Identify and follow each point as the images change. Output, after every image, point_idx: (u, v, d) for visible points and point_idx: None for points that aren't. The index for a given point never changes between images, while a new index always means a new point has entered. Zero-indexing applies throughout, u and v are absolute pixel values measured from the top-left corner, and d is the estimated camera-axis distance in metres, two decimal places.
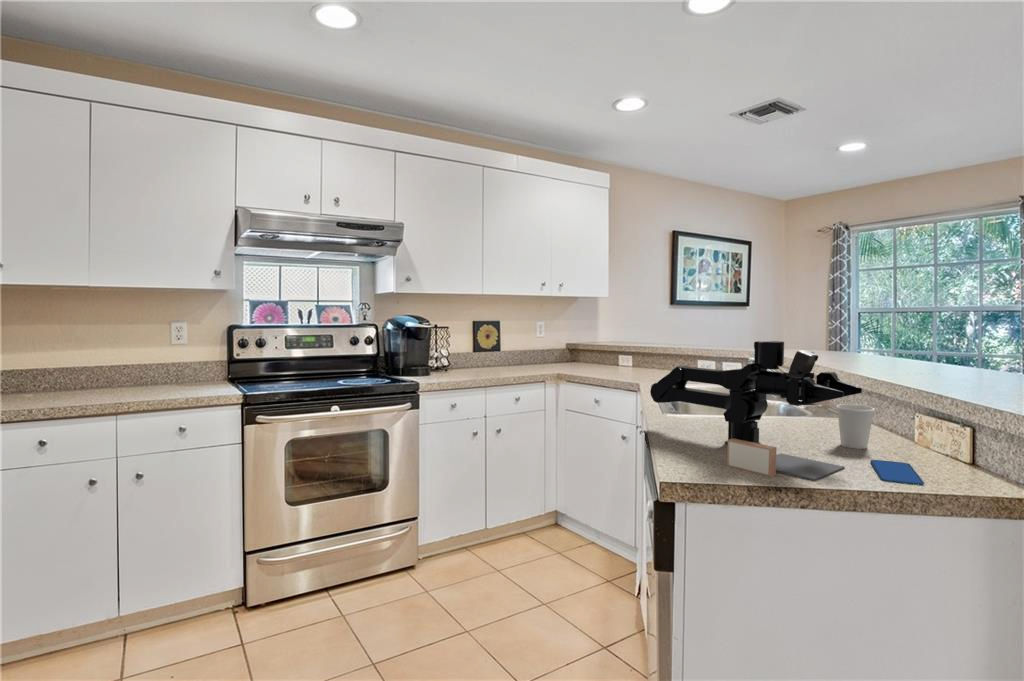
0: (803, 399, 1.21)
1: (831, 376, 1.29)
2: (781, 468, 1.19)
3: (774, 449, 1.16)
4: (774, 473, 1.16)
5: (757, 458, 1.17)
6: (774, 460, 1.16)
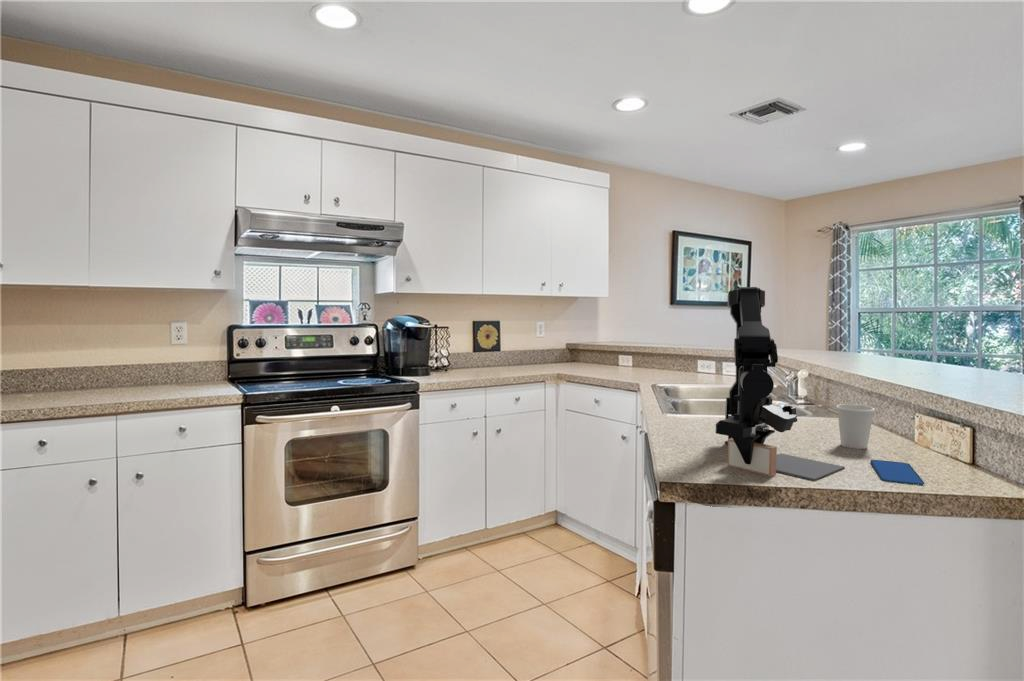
0: None
1: (766, 433, 1.18)
2: (781, 468, 1.19)
3: (774, 449, 1.16)
4: (774, 473, 1.16)
5: (757, 457, 1.17)
6: (774, 460, 1.16)
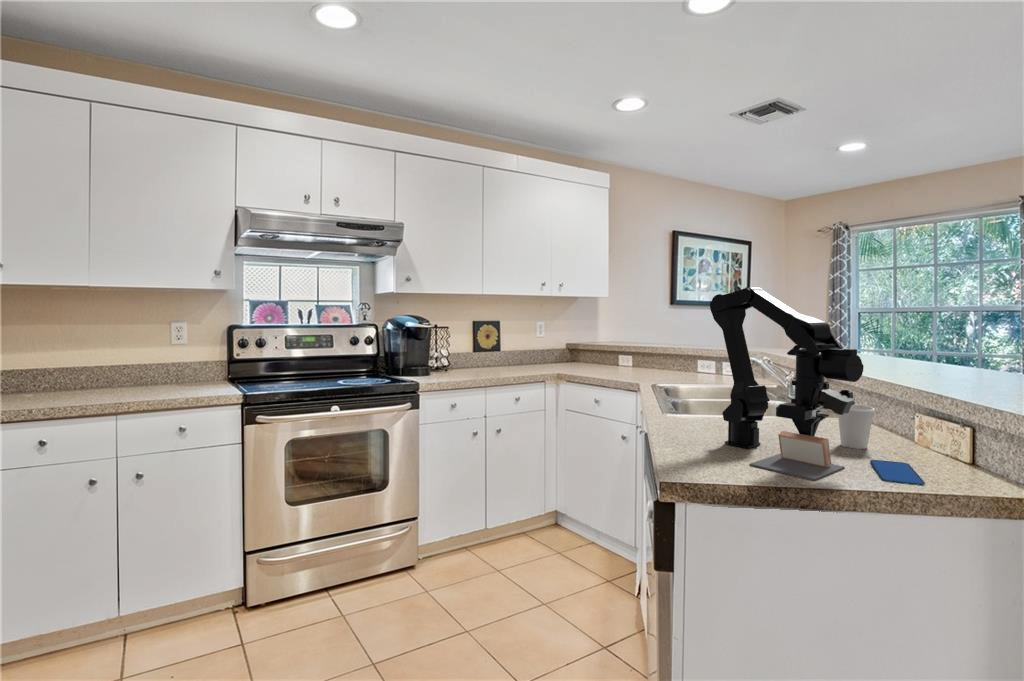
0: None
1: (821, 417, 1.23)
2: (781, 468, 1.19)
3: (826, 442, 1.19)
4: (829, 462, 1.20)
5: (811, 451, 1.21)
6: (828, 451, 1.20)
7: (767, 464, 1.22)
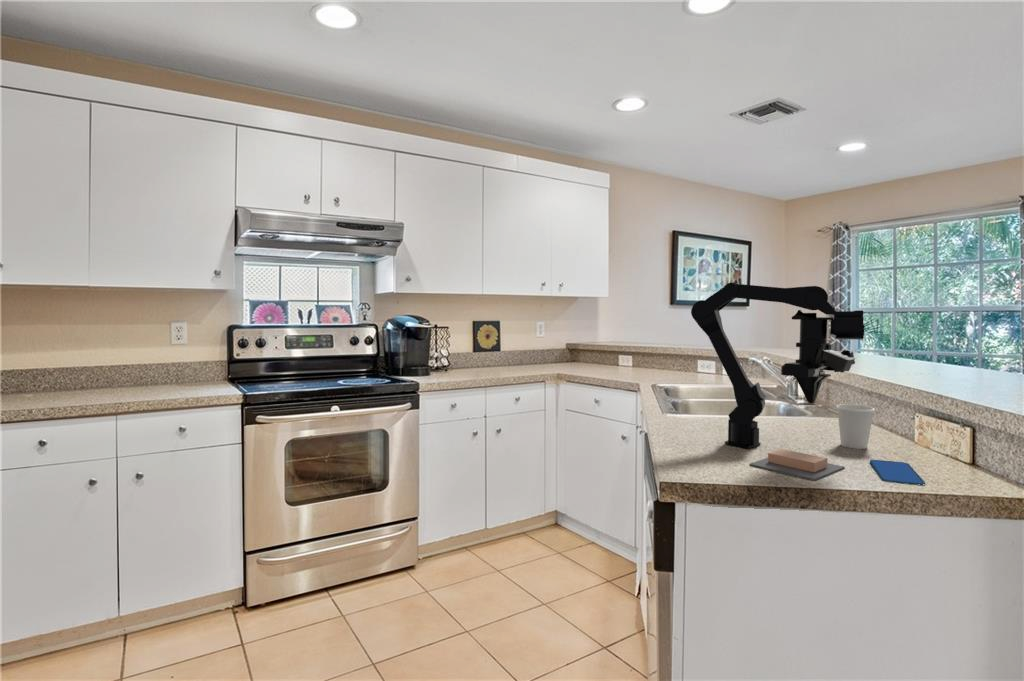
0: (797, 376, 1.32)
1: (824, 376, 1.31)
2: (781, 468, 1.19)
3: (815, 466, 1.16)
4: (826, 461, 1.19)
5: None
6: (820, 464, 1.18)
7: (767, 464, 1.22)
